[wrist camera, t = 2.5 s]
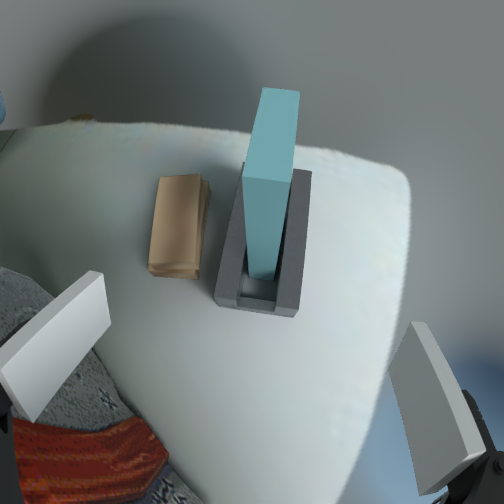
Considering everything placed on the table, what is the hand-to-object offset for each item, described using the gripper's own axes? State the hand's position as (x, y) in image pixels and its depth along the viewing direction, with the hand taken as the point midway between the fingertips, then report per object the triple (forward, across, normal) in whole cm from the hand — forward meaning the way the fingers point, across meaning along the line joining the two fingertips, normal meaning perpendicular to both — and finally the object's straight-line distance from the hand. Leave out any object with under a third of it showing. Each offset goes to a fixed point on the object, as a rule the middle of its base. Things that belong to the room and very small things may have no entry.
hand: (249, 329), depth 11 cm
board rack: (+20, 0, -4) cm, 21 cm away
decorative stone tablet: (+5, -13, -20) cm, 24 cm away
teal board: (+20, 0, -4) cm, 21 cm away
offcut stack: (+21, -10, -4) cm, 23 cm away
